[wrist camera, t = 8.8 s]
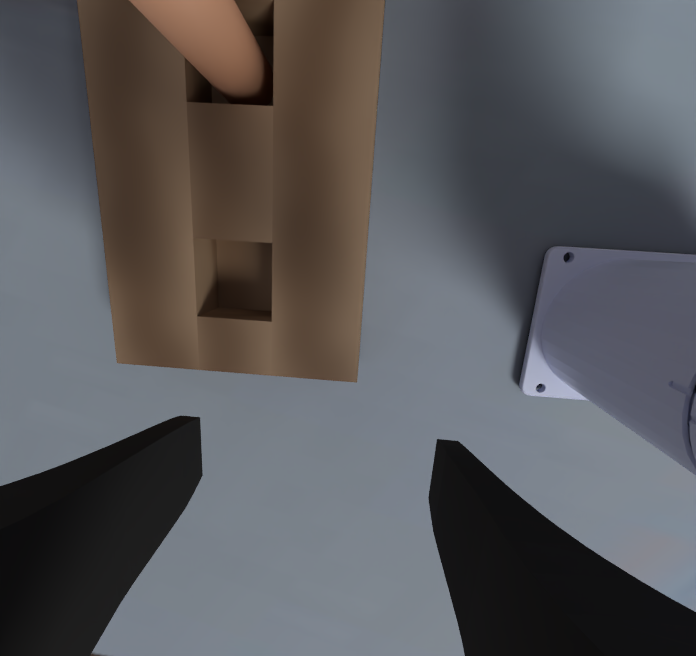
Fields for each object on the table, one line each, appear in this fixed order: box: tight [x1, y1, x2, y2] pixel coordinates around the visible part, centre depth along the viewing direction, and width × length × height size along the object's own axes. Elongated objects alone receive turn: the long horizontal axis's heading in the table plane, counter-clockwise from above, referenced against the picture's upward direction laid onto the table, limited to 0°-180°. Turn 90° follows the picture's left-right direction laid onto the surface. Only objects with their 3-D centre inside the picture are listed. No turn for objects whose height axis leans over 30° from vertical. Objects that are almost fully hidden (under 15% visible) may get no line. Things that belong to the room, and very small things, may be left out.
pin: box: [129, 0, 273, 106], centre depth 12 cm, size 2×2×8 cm
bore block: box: [77, 0, 385, 382], centre depth 16 cm, size 12×18×3 cm, turn 177°
